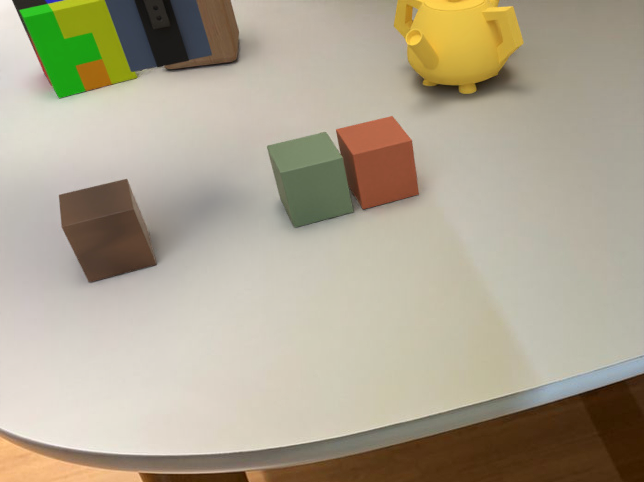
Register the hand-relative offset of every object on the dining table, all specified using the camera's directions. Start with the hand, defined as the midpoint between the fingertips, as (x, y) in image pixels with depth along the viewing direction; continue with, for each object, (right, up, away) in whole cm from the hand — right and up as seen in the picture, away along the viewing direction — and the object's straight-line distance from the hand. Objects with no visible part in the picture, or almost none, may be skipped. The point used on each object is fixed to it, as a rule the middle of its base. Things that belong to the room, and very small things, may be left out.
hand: (166, 47), depth 72 cm
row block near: (-6, -19, +3) cm, 20 cm away
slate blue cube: (0, 0, 0) cm, 0 cm away
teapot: (+25, +8, +30) cm, 40 cm away
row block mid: (+12, -13, +8) cm, 19 cm away
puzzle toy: (-25, +10, +35) cm, 45 cm away
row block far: (+18, -10, +10) cm, 23 cm away
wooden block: (-11, +15, +39) cm, 43 cm away
